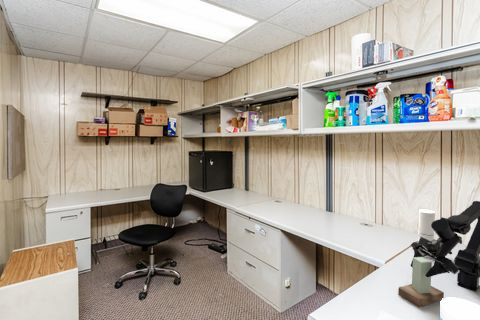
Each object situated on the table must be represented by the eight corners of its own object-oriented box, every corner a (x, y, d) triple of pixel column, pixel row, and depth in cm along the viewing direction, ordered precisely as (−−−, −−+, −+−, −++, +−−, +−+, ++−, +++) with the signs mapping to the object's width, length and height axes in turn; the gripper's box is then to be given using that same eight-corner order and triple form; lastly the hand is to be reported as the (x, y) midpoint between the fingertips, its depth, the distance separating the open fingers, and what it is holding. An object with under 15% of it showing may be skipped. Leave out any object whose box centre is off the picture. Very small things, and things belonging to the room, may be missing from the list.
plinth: (421, 287, 115) (421, 281, 115) (443, 299, 106) (443, 292, 106) (398, 294, 110) (398, 287, 110) (419, 307, 102) (419, 299, 101)
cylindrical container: (427, 258, 142) (429, 213, 140) (414, 253, 148) (416, 210, 146) (435, 256, 145) (438, 212, 143) (422, 251, 151) (424, 208, 149)
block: (421, 286, 110) (423, 256, 109) (430, 292, 106) (431, 262, 105) (411, 287, 110) (413, 257, 109) (419, 293, 106) (421, 262, 104)
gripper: (415, 223, 116) (390, 249, 116) (453, 240, 97) (424, 270, 97) (431, 240, 117) (406, 265, 117) (471, 259, 98) (442, 289, 98)
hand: (418, 271), depth 107 cm, fingers open, 8 cm apart
